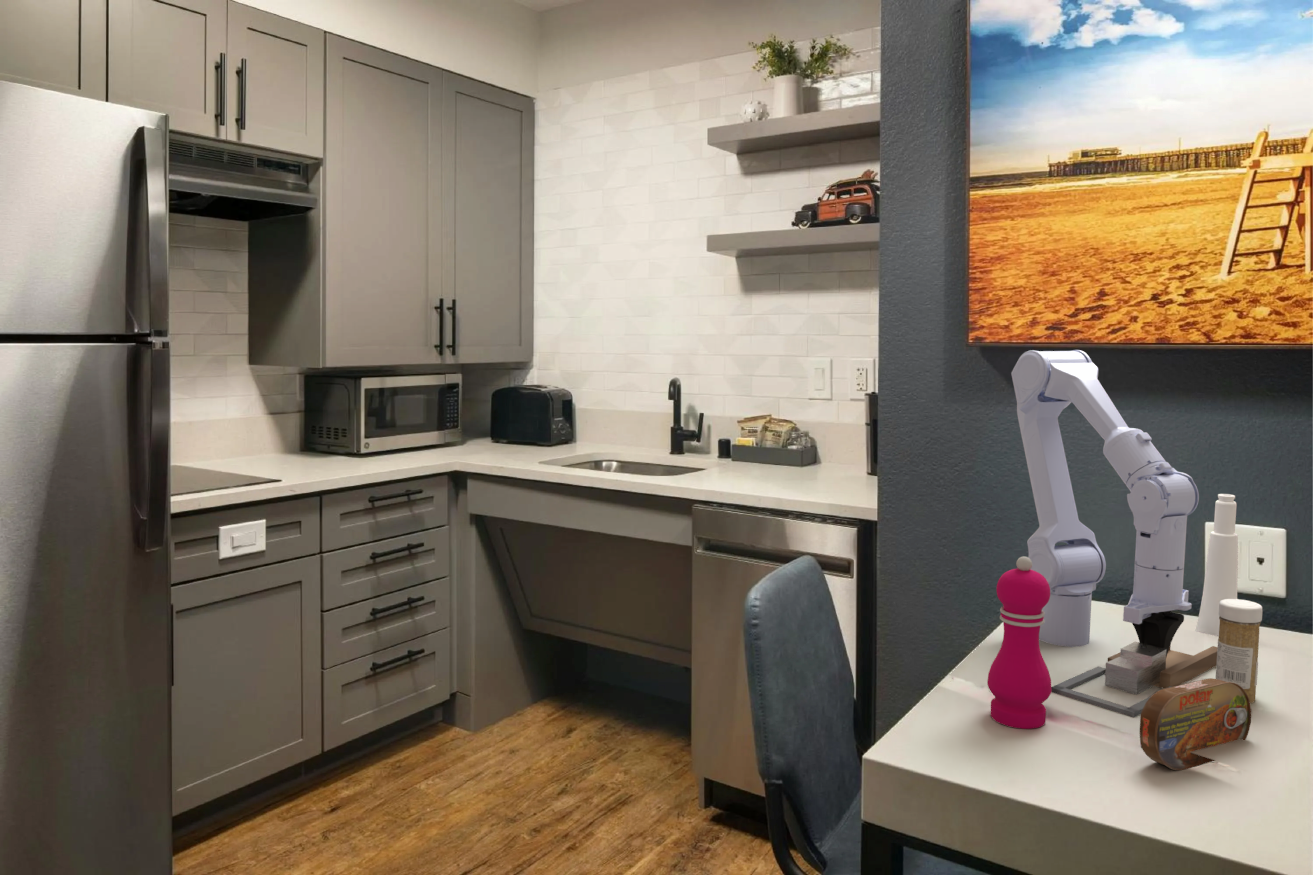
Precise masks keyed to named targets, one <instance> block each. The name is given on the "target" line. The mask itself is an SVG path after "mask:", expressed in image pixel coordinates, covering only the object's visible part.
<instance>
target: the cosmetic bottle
mask: <svg viewBox="0 0 1313 875" xmlns="http://www.w3.org/2000/svg"><path fill="white" fill-rule="evenodd" d="M1217 498H1218V499H1217V500H1216V501H1215V504H1214V505H1215V506H1214V519H1213V520H1214V521H1213V530H1212V531H1210V534H1209V539H1208V540H1209V541H1208V548H1207V556H1206V564H1205V573H1204V581H1203V588H1202V596H1201V603H1200V607H1199V614H1198V617H1197V621H1196V625H1195V628H1194V629H1195V630H1194V631H1195V632H1197V633H1201V634H1206V635H1210V636H1214V637H1218V638H1219V625H1220V619H1219V617H1220V616H1219V603H1220V601H1221V600H1224V599H1238V569H1239V568H1238V564H1239V561H1238V558H1239V554H1238V553H1239V552H1238V551H1239V542H1238V541H1239V537H1238V536H1239V535H1238V533H1236V522H1237V521H1236V519H1237V517H1236V516H1237V502H1236V501H1234V500H1236V495H1234V494H1230V493H1218V494H1217Z"/></svg>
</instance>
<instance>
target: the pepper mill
mask: <svg viewBox="0 0 1313 875" xmlns="http://www.w3.org/2000/svg"><path fill="white" fill-rule="evenodd" d="M1015 565H1016V568H1012V569H1010V570H1007V571H1005V572H1004V573H1002V574H1001V576H1000V577H999V579H998V580H997V584H996V595H997V598H998V601H1000V603H1001V604H1002V606H1001V607H1000V608H999V612H1000V615H999V620H1000V621H1002V623H1003V639H1002V643H1001V646H1000V649H999V651H998V652H997V654H996V656H995V658H994V659H993V661H992V663H991V665H990V669H989V671H988V675H987V687H988V689H989V691H990V693H991V694H992V695H993V696H994V698H992V699H991V700H990V712H989V713H990V717H991V718H992V719H993V720H994V721H995V722H996V723H998V724H1000V725H1003V726H1005V727H1010V728H1014V729H1022V730H1031V729H1038V728H1041V727H1043V726H1044V725H1045V724H1046V723H1047V722H1046V721H1047V720H1046V718H1047V707H1046V706H1045V705H1044V704H1043V703H1045V701H1047V700H1048V698H1049V697H1050V695H1051V694H1052V692H1051V691H1052V690H1051V687H1052V679H1051V675H1050V671H1049V669H1048V667H1047V664H1046V662H1045V660H1044V657H1043V654H1042V652H1041V647H1040V640H1039V631H1040V626H1041V625H1043V624H1044V622H1045V621H1044V616H1045V612H1044V611H1043V610H1042V608H1043V607H1044V606H1045V605H1046V604H1047V603H1048V601H1049V599H1050V587H1049V584H1048V582H1047V580H1046V578H1045V577H1044V576H1043V575H1041V574H1040V573H1038V572H1036V571H1034V570H1030V569H1031V567H1032V561H1031V560H1030V559H1029V558H1028V556H1020V557H1018V559H1017V560H1016V563H1015Z"/></svg>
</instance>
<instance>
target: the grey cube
mask: <svg viewBox="0 0 1313 875" xmlns="http://www.w3.org/2000/svg"><path fill="white" fill-rule="evenodd" d="M1119 653H1120V656H1123V657H1127V658H1131V659H1134V660H1138V661H1142V662H1146V663H1149V664H1153V667H1152V684H1151V688H1152V687H1153V685H1155V684H1157V683H1159V682H1160V672H1161V671H1163V670H1165V669H1166V649H1164V648H1159V647H1155V646H1151V645H1147V644H1143V643H1140V642H1138V641H1134V642H1131V643H1129V644H1128V645H1125V646H1123V647H1121V648H1120V652H1119Z"/></svg>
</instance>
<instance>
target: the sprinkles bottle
mask: <svg viewBox="0 0 1313 875" xmlns="http://www.w3.org/2000/svg"><path fill="white" fill-rule="evenodd" d="M1219 616H1220V617H1219V619H1220V625H1219V637H1218V639H1217V647H1218V649H1217V664H1216V666H1215V679H1218V680H1222V681H1226V682H1232V683H1236V684H1238V685H1239V686H1241V687H1242V688H1243V689H1244V690H1245V692H1246V693H1247V695H1248V698H1249V700H1250V704H1253V703H1254V702H1255V701H1256V695H1257V692H1256V690H1257V686H1258V675H1259V674H1258V673H1259V670H1258V669H1259V661H1258V659H1259V658H1258V657H1259V643H1260V625H1261V622H1262V621H1263V606H1262V605H1261V604H1260V603H1257V602H1255V601H1251V600H1246V599H1239V598H1237V599H1224V600H1221V601H1220V603H1219Z"/></svg>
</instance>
